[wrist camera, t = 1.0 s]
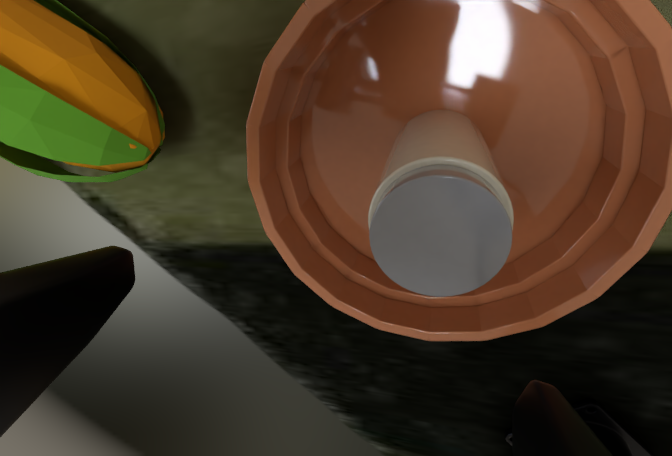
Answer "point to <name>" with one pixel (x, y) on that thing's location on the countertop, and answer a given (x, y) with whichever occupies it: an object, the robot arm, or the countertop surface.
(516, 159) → the bowl
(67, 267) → the robot arm
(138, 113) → the corn
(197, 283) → the countertop surface
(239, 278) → the countertop surface
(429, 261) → the cylinder
